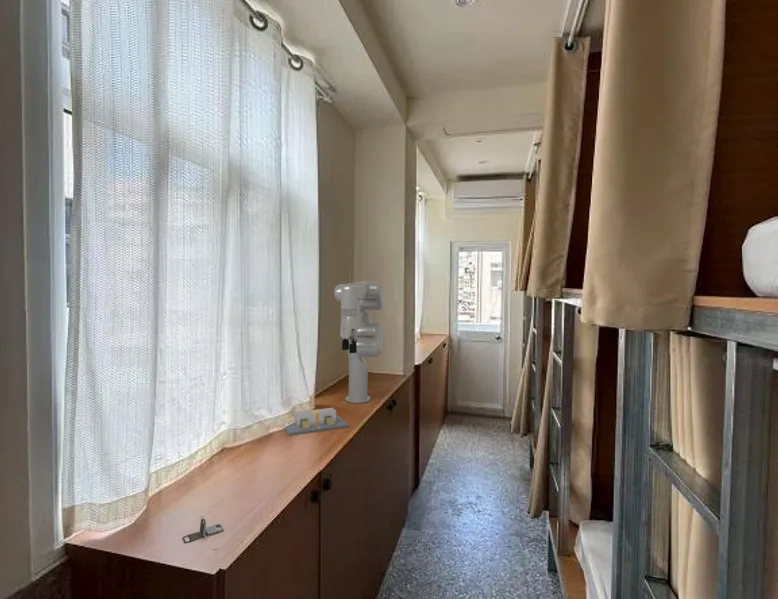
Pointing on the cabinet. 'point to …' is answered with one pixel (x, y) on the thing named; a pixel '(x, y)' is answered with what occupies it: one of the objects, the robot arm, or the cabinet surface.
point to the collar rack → (307, 428)
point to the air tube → (314, 416)
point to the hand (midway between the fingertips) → (349, 351)
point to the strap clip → (204, 531)
